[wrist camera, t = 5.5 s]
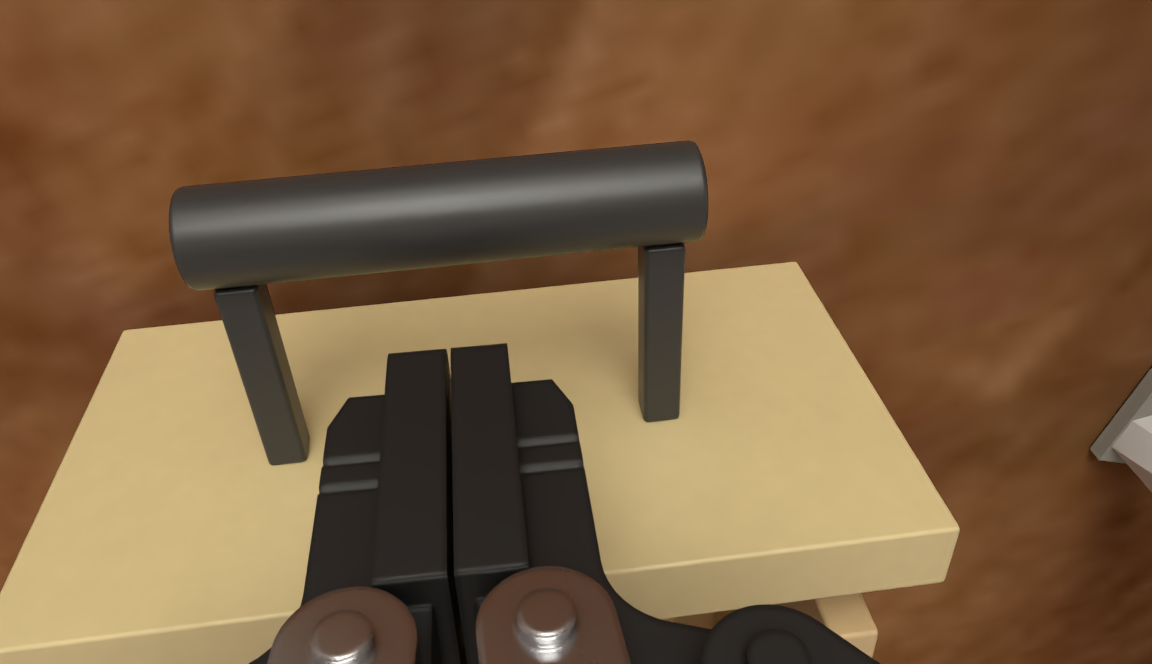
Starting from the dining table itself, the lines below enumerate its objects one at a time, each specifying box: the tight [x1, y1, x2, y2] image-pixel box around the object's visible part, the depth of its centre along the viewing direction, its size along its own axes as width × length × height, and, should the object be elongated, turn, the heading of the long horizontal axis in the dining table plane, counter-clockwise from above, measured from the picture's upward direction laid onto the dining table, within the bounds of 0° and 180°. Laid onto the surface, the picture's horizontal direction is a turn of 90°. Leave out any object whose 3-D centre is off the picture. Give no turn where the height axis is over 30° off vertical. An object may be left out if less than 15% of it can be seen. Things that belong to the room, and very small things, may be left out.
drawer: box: [0, 141, 960, 664], centre depth 18 cm, size 18×13×7 cm
